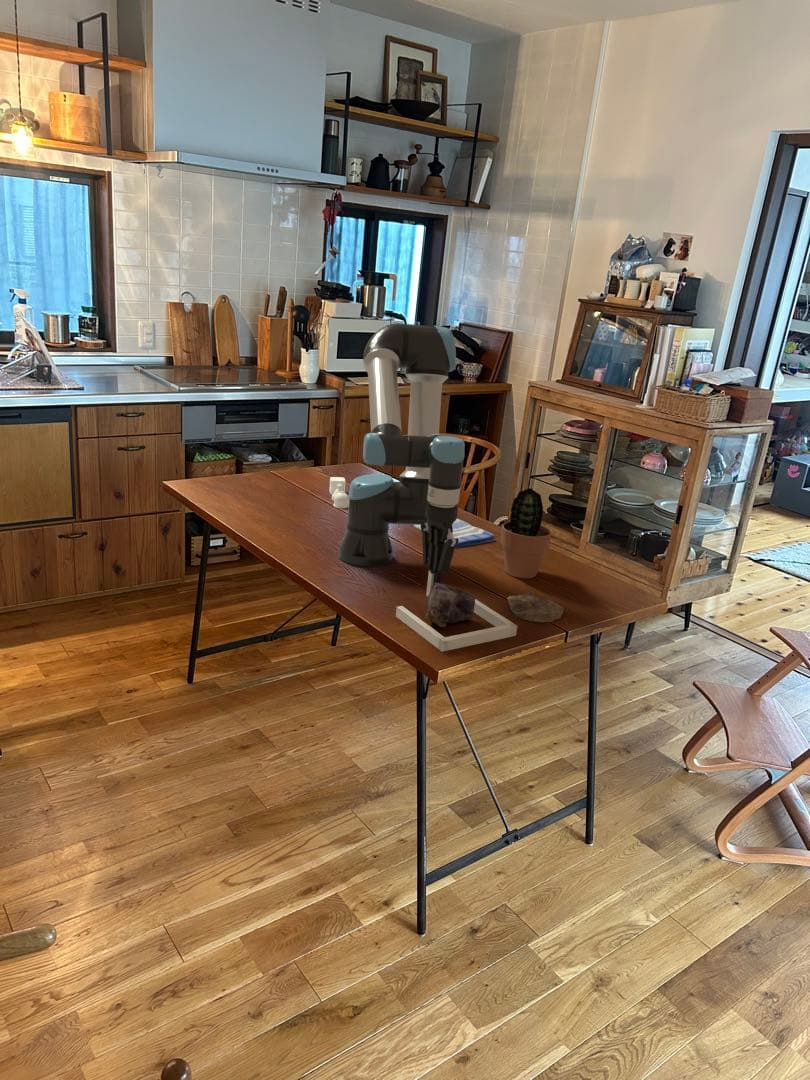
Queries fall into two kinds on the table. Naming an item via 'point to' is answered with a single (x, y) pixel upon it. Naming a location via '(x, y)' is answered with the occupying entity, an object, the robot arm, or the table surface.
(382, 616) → the table surface
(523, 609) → the oyster shell
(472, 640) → the bay
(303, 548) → the table surface
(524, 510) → the potted plant
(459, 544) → the dish towel
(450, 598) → the rock
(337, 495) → the container set
